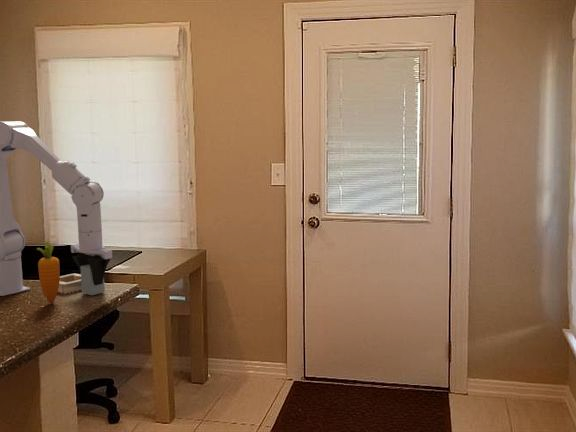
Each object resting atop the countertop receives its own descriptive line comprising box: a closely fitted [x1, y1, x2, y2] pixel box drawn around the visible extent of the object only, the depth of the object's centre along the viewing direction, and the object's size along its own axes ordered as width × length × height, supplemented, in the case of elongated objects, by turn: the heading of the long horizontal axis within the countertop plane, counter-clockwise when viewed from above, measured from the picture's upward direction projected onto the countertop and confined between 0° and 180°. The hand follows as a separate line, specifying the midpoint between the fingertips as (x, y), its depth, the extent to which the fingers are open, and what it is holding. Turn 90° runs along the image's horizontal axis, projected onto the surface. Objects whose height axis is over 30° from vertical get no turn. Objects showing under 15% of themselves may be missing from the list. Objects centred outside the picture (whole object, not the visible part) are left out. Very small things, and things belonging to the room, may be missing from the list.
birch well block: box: [57, 272, 82, 295], centre depth 172 cm, size 9×9×2 cm
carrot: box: [36, 241, 61, 304], centre depth 156 cm, size 5×5×15 cm
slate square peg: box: [80, 264, 106, 296], centre depth 165 cm, size 4×4×7 cm
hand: (92, 283), depth 165 cm, fingers closed on slate square peg, 4 cm apart
